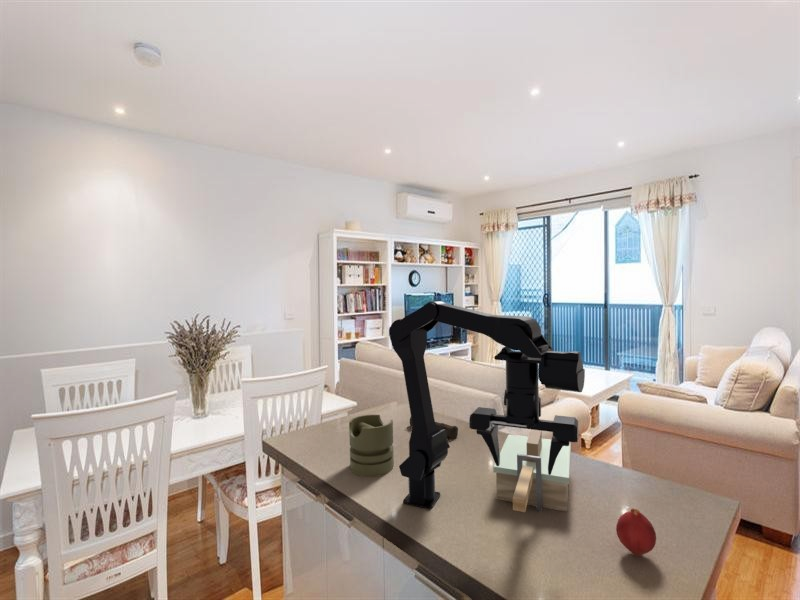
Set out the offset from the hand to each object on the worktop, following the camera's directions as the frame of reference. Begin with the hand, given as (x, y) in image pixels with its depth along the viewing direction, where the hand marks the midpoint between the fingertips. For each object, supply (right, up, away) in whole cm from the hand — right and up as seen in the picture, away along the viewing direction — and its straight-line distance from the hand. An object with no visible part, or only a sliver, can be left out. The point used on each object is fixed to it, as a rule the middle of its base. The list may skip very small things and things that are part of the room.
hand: (523, 469), depth 75 cm
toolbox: (+9, -11, +19) cm, 24 cm away
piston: (-30, -12, +31) cm, 45 cm away
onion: (+17, -12, -7) cm, 22 cm away
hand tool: (-13, -12, +56) cm, 58 cm away
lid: (+8, -6, +19) cm, 22 cm away
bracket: (+4, -12, +9) cm, 15 cm away
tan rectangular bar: (0, -4, 0) cm, 4 cm away
